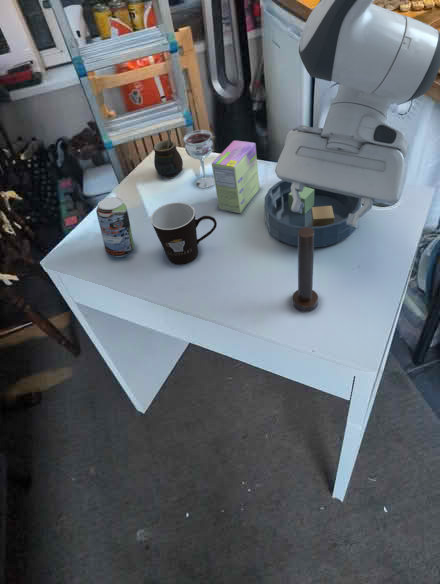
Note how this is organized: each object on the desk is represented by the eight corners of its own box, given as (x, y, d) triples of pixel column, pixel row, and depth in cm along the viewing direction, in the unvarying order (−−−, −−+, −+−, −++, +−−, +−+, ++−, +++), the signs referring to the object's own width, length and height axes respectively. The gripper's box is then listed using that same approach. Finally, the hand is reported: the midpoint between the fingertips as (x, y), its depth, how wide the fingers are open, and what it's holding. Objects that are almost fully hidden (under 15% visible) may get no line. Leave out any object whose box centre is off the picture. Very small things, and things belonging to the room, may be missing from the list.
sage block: (314, 204, 94) (314, 189, 91) (304, 214, 92) (304, 199, 89) (298, 199, 96) (298, 184, 93) (288, 209, 94) (288, 194, 91)
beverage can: (102, 257, 93) (82, 211, 84) (122, 236, 97) (105, 191, 88) (125, 264, 90) (106, 217, 82) (145, 242, 94) (129, 196, 86)
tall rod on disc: (320, 296, 77) (324, 225, 66) (314, 314, 74) (316, 243, 63) (296, 291, 79) (295, 221, 67) (289, 309, 76) (287, 239, 65)
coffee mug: (155, 264, 89) (142, 226, 82) (174, 238, 94) (163, 199, 87) (206, 275, 85) (197, 235, 78) (223, 246, 90) (216, 207, 83)
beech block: (330, 221, 90) (331, 205, 87) (333, 233, 87) (334, 217, 84) (311, 222, 90) (311, 207, 87) (312, 235, 88) (313, 219, 85)
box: (238, 185, 105) (233, 139, 96) (260, 189, 103) (256, 142, 94) (218, 209, 99) (210, 163, 91) (240, 214, 97) (234, 167, 88)
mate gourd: (153, 181, 111) (143, 145, 104) (162, 165, 116) (153, 130, 109) (179, 181, 110) (171, 145, 102) (187, 165, 115) (180, 129, 107)
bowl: (366, 200, 94) (369, 178, 90) (347, 257, 83) (350, 235, 79) (281, 189, 101) (280, 169, 97) (253, 241, 90) (251, 220, 86)
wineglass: (187, 187, 107) (177, 142, 99) (201, 172, 111) (192, 128, 102) (210, 192, 104) (202, 146, 96) (224, 177, 108) (217, 131, 100)
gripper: (284, 116, 70) (258, 200, 72) (416, 136, 60) (382, 232, 62) (297, 130, 75) (272, 207, 77) (419, 150, 66) (388, 237, 68)
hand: (322, 218), depth 70 cm, fingers open, 8 cm apart
